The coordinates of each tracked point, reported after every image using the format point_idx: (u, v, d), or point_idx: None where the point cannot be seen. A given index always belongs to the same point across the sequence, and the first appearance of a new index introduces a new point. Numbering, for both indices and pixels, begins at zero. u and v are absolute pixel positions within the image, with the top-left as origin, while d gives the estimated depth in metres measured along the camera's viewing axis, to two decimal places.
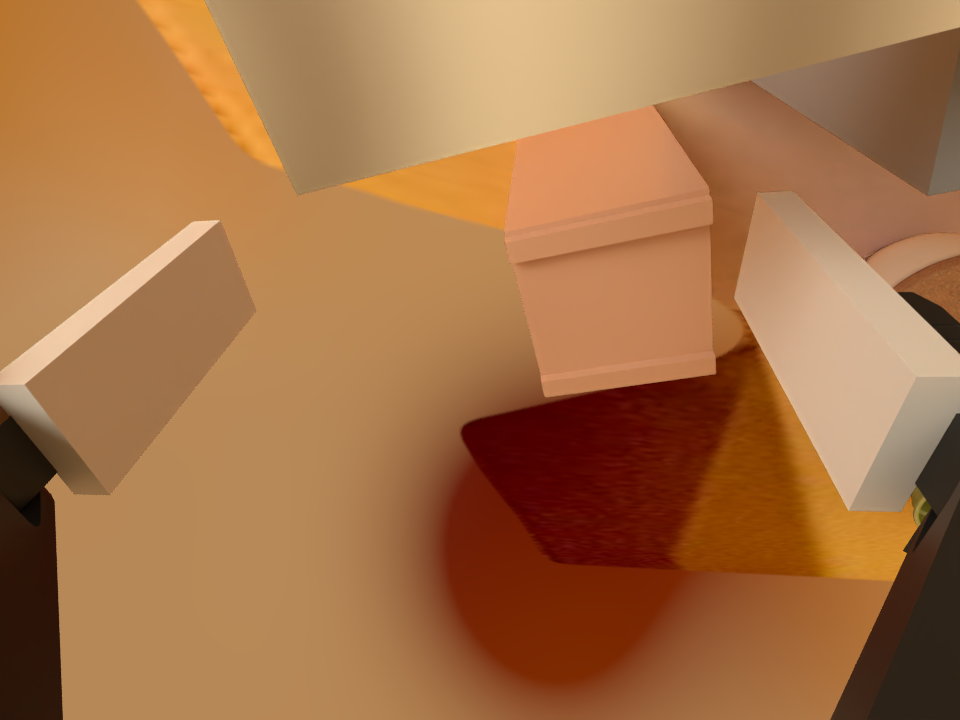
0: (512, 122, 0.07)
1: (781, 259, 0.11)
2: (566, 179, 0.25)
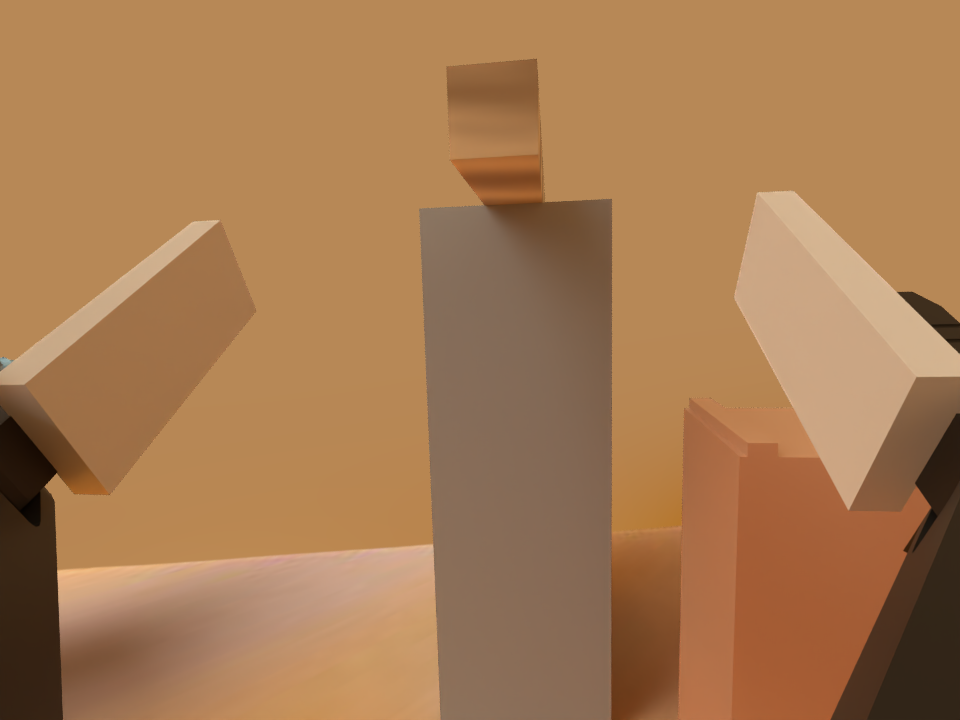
0: None
1: (781, 259, 0.11)
2: (713, 542, 0.22)
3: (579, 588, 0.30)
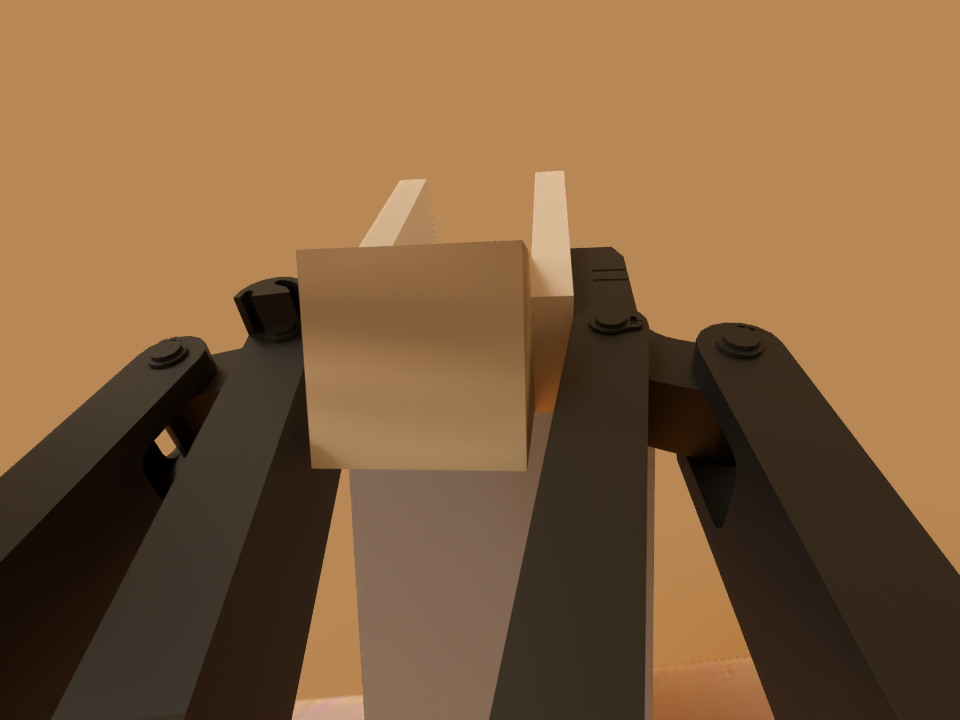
0: None
1: None
2: None
3: None
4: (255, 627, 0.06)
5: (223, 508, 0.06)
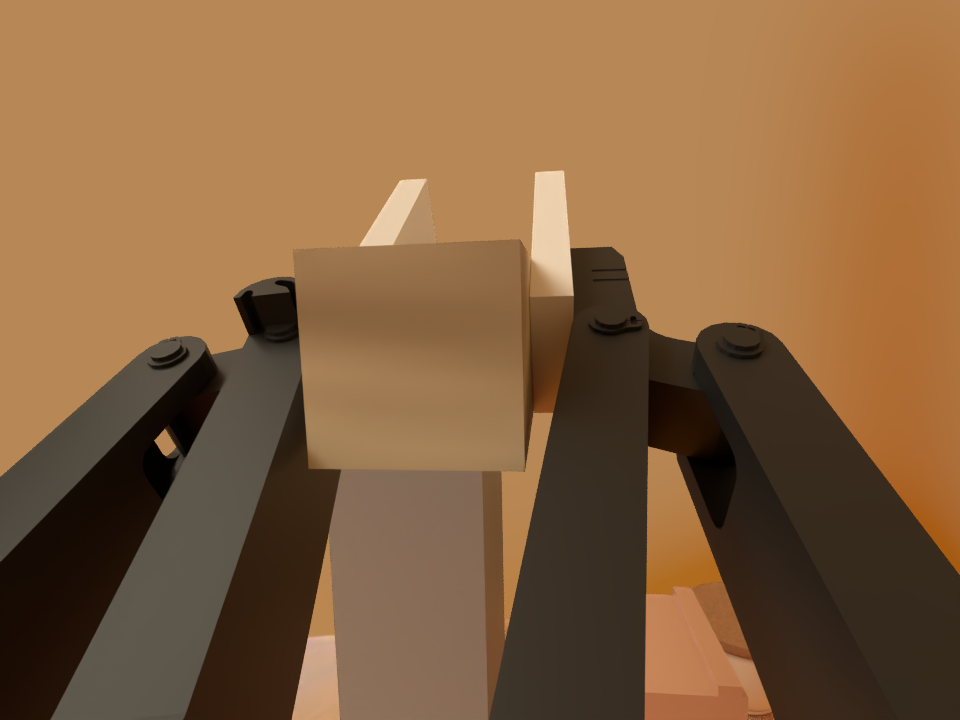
0: None
1: None
2: None
3: None
4: (255, 628, 0.06)
5: (223, 508, 0.06)
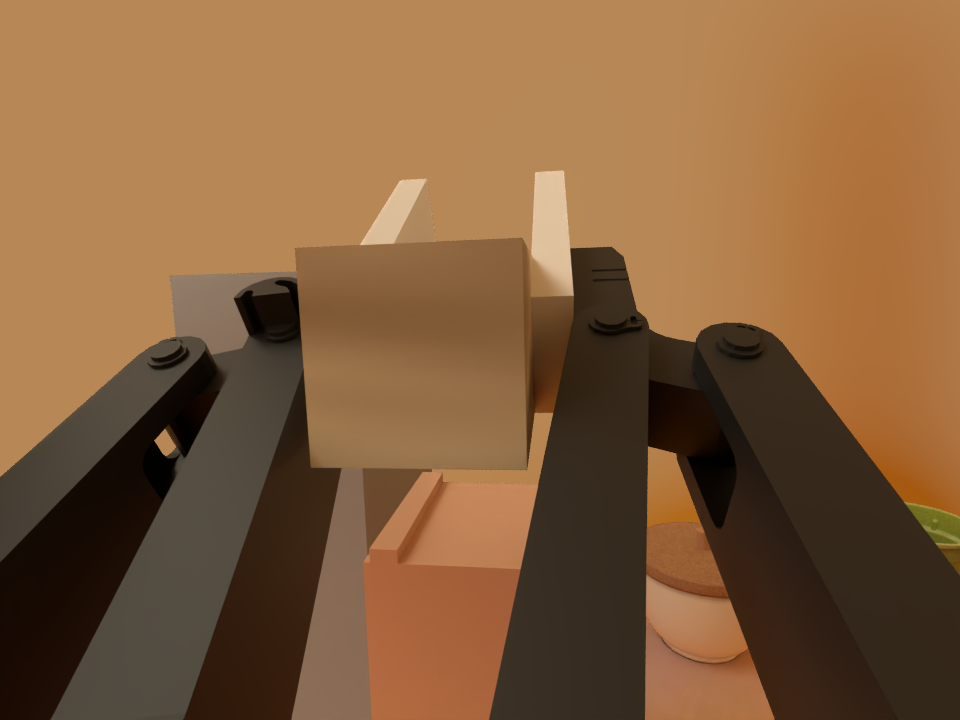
0: None
1: None
2: None
3: (342, 653, 0.30)
4: (255, 627, 0.06)
5: (223, 508, 0.06)
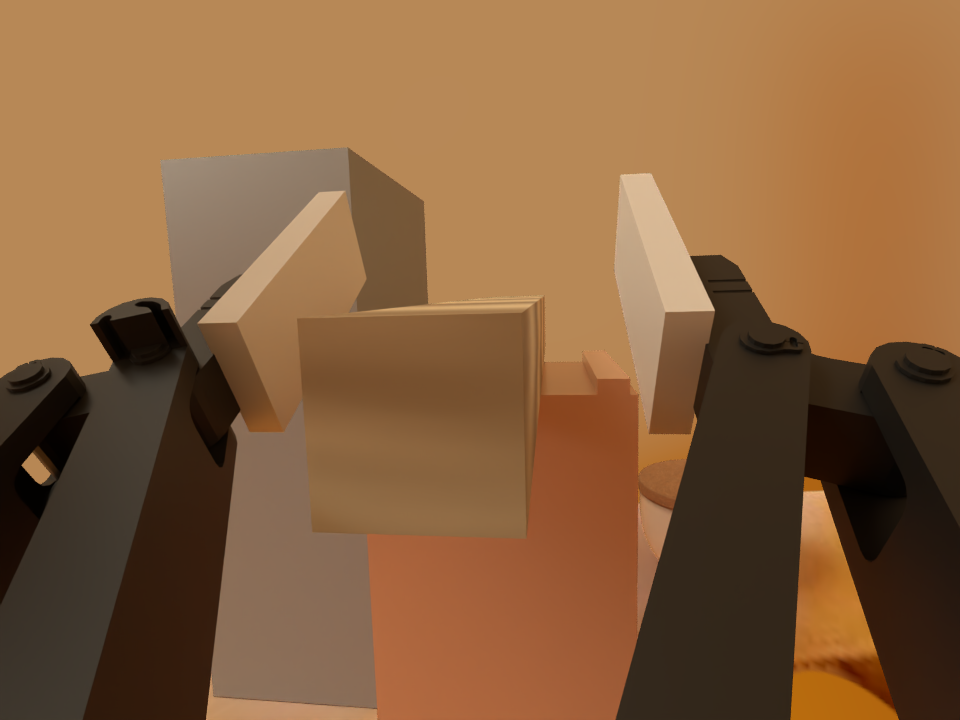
0: (519, 306, 0.10)
1: (627, 230, 0.12)
2: None
3: (339, 556, 0.29)
4: (152, 637, 0.06)
5: (102, 528, 0.06)
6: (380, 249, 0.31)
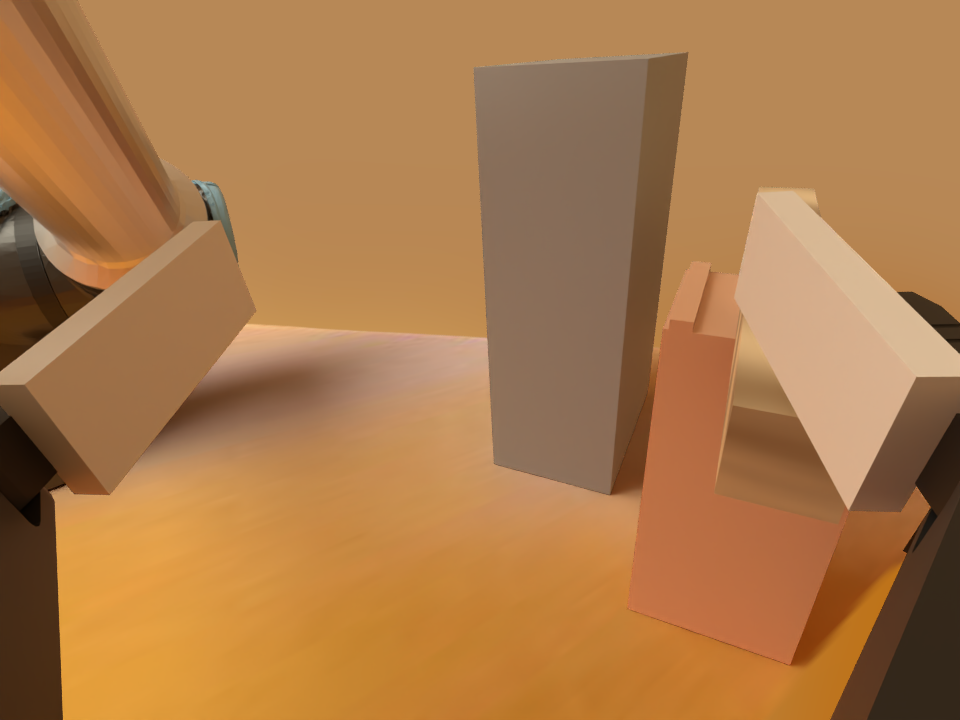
0: None
1: (781, 258, 0.11)
2: None
3: (593, 396, 0.39)
4: None
5: None
6: (654, 141, 0.33)
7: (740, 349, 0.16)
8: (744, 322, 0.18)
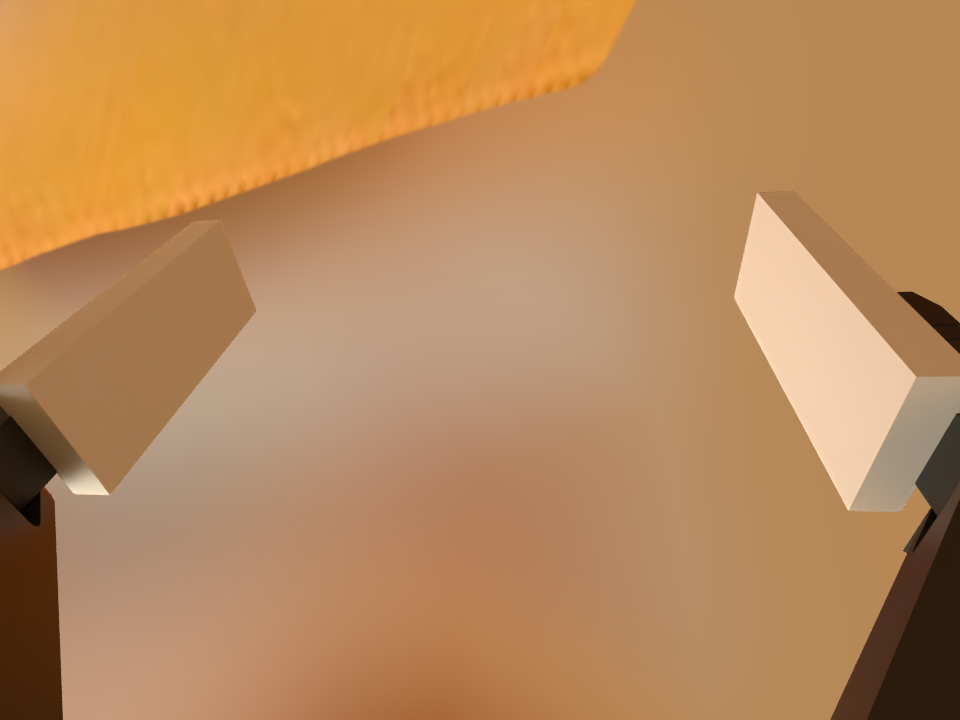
0: None
1: (780, 259, 0.11)
2: None
3: None
4: None
5: None
6: None
7: None
8: None
